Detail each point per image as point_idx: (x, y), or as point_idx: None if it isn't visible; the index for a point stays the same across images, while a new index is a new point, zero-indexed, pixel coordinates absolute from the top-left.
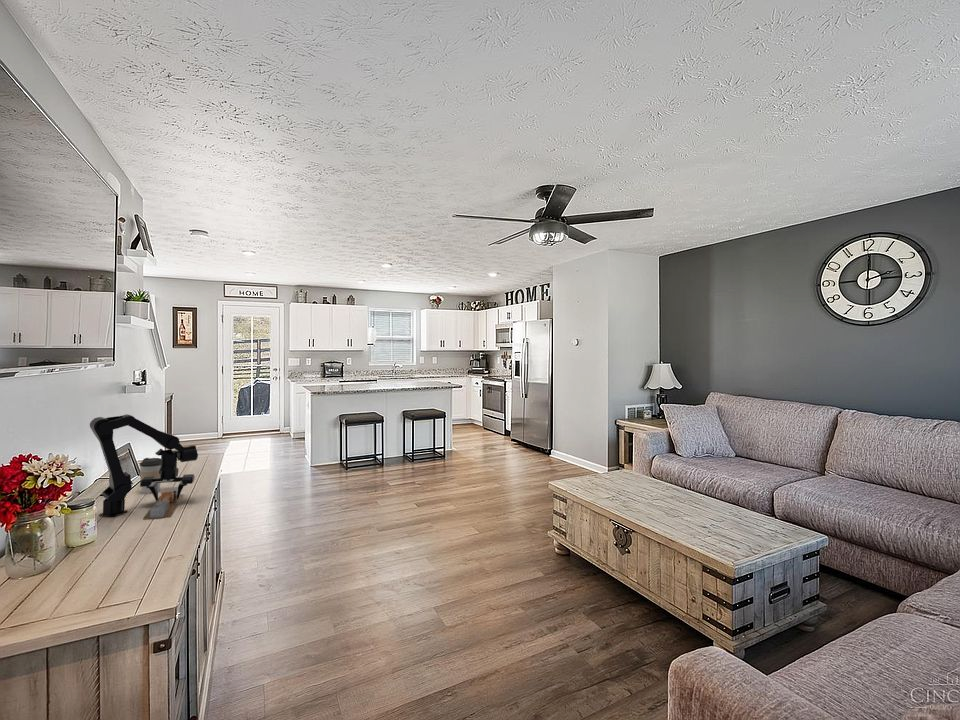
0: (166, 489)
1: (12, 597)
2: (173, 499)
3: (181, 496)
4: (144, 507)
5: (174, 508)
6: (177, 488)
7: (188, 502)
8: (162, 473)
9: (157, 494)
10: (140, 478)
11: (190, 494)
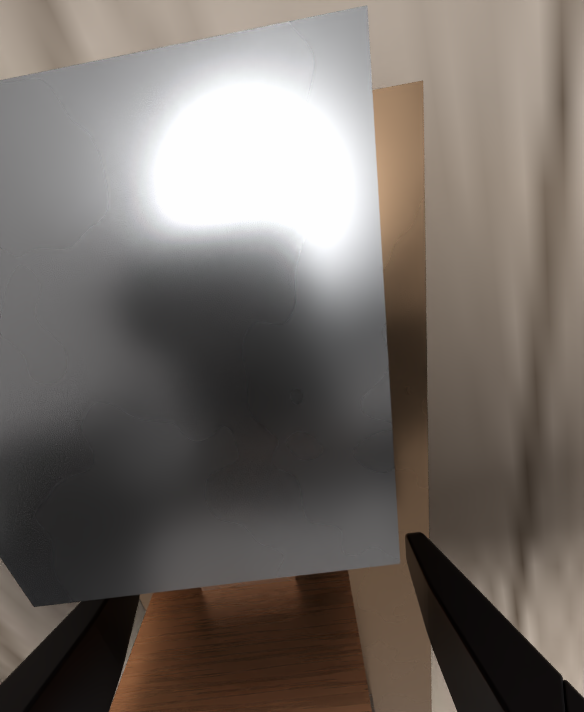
0: (11, 424)
1: None
2: None
3: (406, 272)
4: None
5: (424, 697)
6: (364, 340)
7: (539, 509)
8: None
9: (63, 709)
10: None
11: (554, 19)
